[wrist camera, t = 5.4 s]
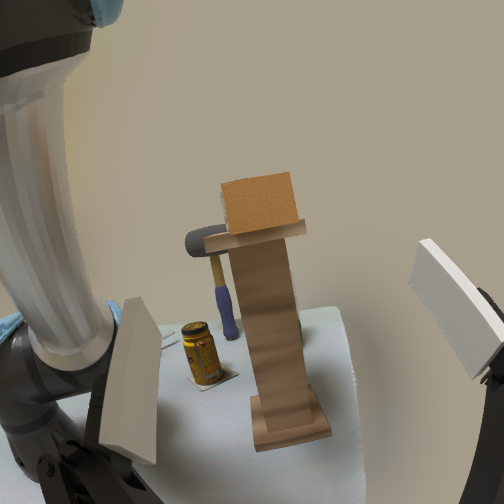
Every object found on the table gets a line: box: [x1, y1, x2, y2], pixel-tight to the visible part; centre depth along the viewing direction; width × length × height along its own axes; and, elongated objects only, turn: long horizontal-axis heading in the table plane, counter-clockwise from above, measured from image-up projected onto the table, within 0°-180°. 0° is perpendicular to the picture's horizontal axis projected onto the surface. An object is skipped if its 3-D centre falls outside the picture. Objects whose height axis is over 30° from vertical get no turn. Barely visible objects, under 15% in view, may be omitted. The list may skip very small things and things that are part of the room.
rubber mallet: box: [185, 224, 239, 340], centre depth 71 cm, size 12×8×30 cm, turn 68°
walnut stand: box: [203, 219, 331, 452], centre depth 34 cm, size 12×10×28 cm
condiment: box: [181, 322, 239, 391], centre depth 52 cm, size 7×8×12 cm
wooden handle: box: [220, 172, 299, 235], centre depth 27 cm, size 23×6×6 cm, turn 3°
